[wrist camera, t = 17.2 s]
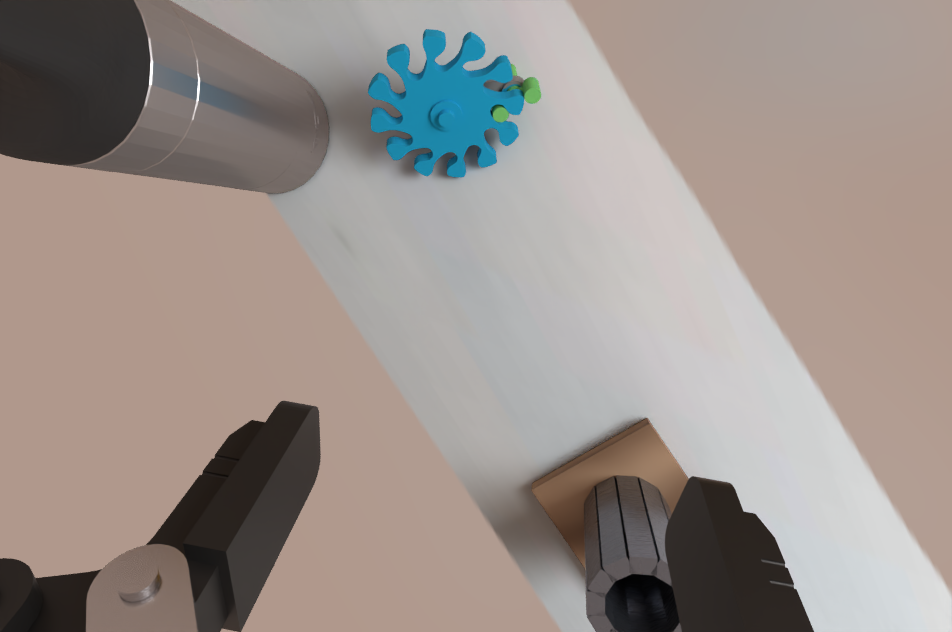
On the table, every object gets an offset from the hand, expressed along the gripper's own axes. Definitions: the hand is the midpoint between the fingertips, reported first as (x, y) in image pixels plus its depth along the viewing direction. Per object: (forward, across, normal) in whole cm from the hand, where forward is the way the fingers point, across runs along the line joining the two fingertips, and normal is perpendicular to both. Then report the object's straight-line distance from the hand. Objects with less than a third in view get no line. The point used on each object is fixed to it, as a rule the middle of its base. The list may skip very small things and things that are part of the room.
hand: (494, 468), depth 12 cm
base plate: (+20, -11, +22) cm, 32 cm away
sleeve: (+19, -11, +22) cm, 31 cm away
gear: (+31, +5, -1) cm, 32 cm away
